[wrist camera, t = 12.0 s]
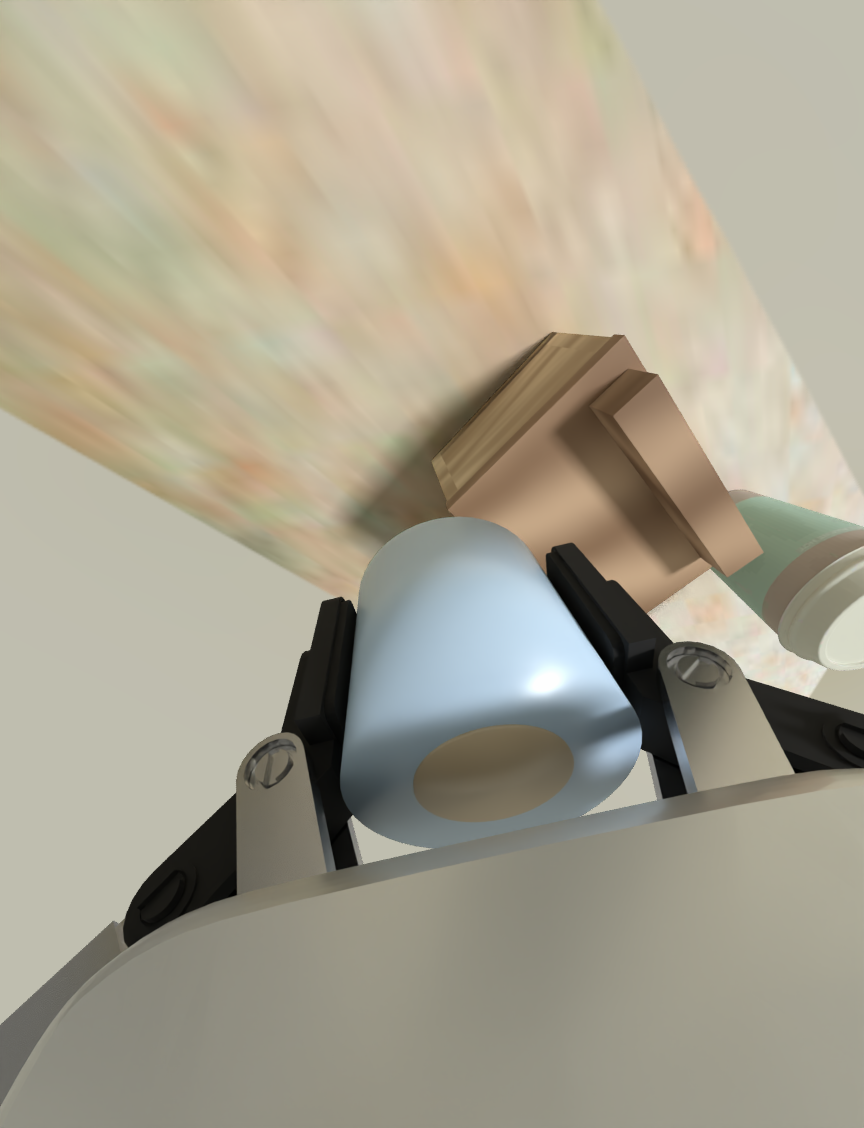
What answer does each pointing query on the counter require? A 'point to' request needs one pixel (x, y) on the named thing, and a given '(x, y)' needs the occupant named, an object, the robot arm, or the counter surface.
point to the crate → (512, 406)
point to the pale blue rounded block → (475, 693)
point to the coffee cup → (804, 580)
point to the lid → (614, 483)
